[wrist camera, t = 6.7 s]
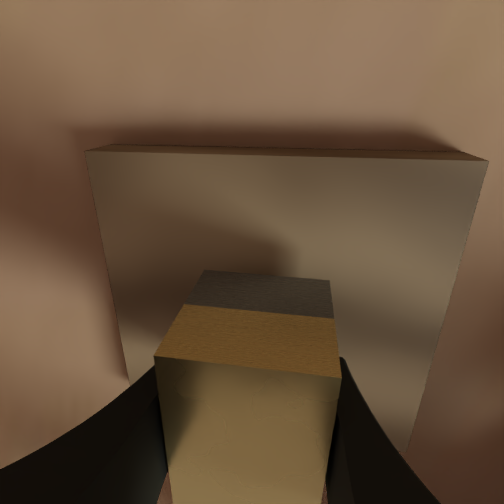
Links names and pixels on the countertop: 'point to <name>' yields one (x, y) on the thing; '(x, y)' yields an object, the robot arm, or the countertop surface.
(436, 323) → the walnut stand
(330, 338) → the block
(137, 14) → the countertop surface
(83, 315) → the countertop surface
